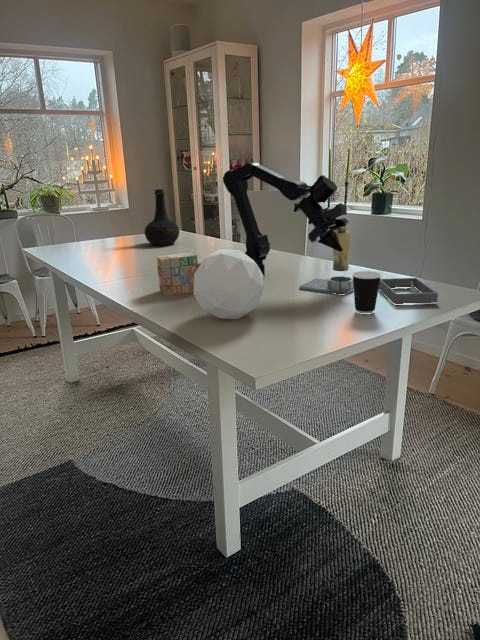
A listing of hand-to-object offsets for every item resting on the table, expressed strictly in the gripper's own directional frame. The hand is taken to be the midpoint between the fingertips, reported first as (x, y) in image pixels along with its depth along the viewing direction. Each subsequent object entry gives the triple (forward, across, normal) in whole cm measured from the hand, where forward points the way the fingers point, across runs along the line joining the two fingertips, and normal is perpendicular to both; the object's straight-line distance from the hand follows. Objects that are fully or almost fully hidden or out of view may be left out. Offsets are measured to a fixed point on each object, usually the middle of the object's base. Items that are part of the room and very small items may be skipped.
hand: (345, 249), depth 154 cm
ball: (-2, -40, +21) cm, 46 cm away
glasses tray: (+23, +2, -4) cm, 24 cm away
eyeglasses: (+23, +2, -3) cm, 23 cm away
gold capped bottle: (+4, 0, +6) cm, 7 cm away
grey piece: (+6, 0, +13) cm, 14 cm away
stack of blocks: (-22, -23, +42) cm, 53 cm away
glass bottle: (-74, +38, +94) cm, 125 cm away
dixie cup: (+20, -18, -1) cm, 27 cm away
